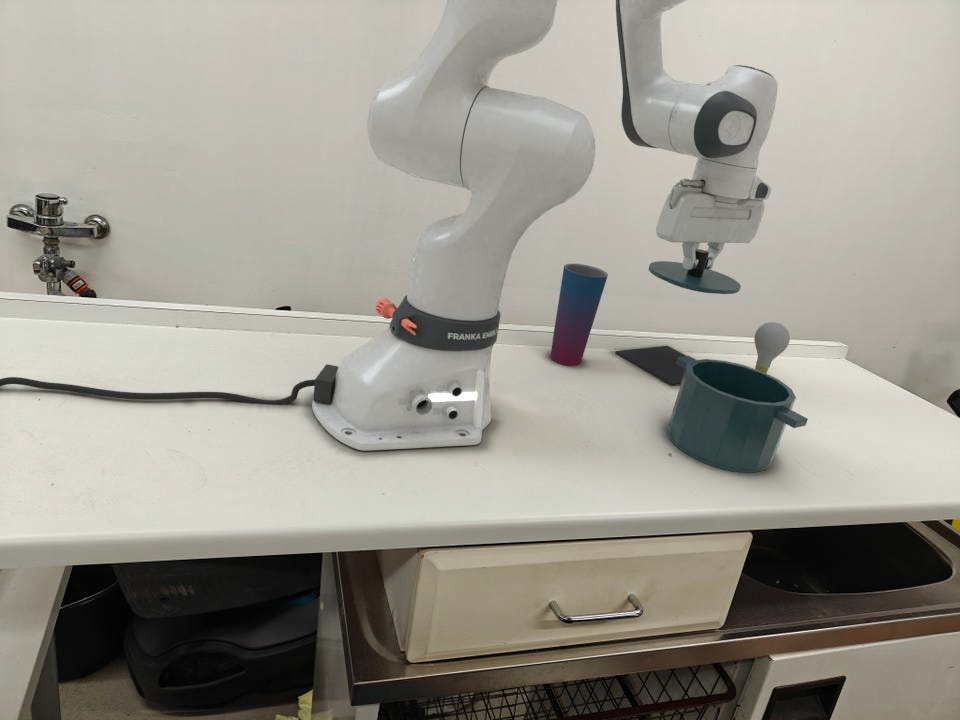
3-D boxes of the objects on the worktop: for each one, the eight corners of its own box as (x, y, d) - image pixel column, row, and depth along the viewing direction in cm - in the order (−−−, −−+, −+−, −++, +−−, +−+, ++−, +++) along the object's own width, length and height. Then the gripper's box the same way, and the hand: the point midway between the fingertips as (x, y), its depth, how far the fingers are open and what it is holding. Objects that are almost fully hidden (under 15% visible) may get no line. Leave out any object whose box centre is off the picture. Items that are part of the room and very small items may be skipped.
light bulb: (781, 383, 123) (801, 328, 119) (761, 385, 120) (780, 329, 116) (756, 369, 127) (774, 316, 123) (735, 372, 124) (753, 317, 120)
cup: (584, 371, 112) (607, 280, 107) (542, 361, 113) (562, 270, 108) (587, 357, 119) (608, 269, 113) (547, 347, 119) (566, 260, 114)
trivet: (670, 385, 113) (671, 383, 113) (614, 353, 123) (615, 350, 123) (723, 377, 120) (724, 375, 120) (666, 347, 130) (667, 345, 130)
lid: (697, 299, 107) (707, 266, 105) (628, 268, 117) (636, 237, 115) (757, 296, 115) (767, 264, 113) (688, 267, 126) (696, 238, 124)
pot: (744, 492, 85) (770, 422, 82) (633, 418, 99) (650, 355, 96) (810, 473, 93) (836, 407, 89) (697, 407, 107) (716, 348, 103)
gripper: (692, 182, 102) (666, 276, 107) (778, 189, 113) (751, 273, 119) (660, 173, 106) (637, 263, 112) (745, 180, 118) (721, 261, 123)
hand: (696, 268), depth 115 cm, fingers closed on lid, 2 cm apart
